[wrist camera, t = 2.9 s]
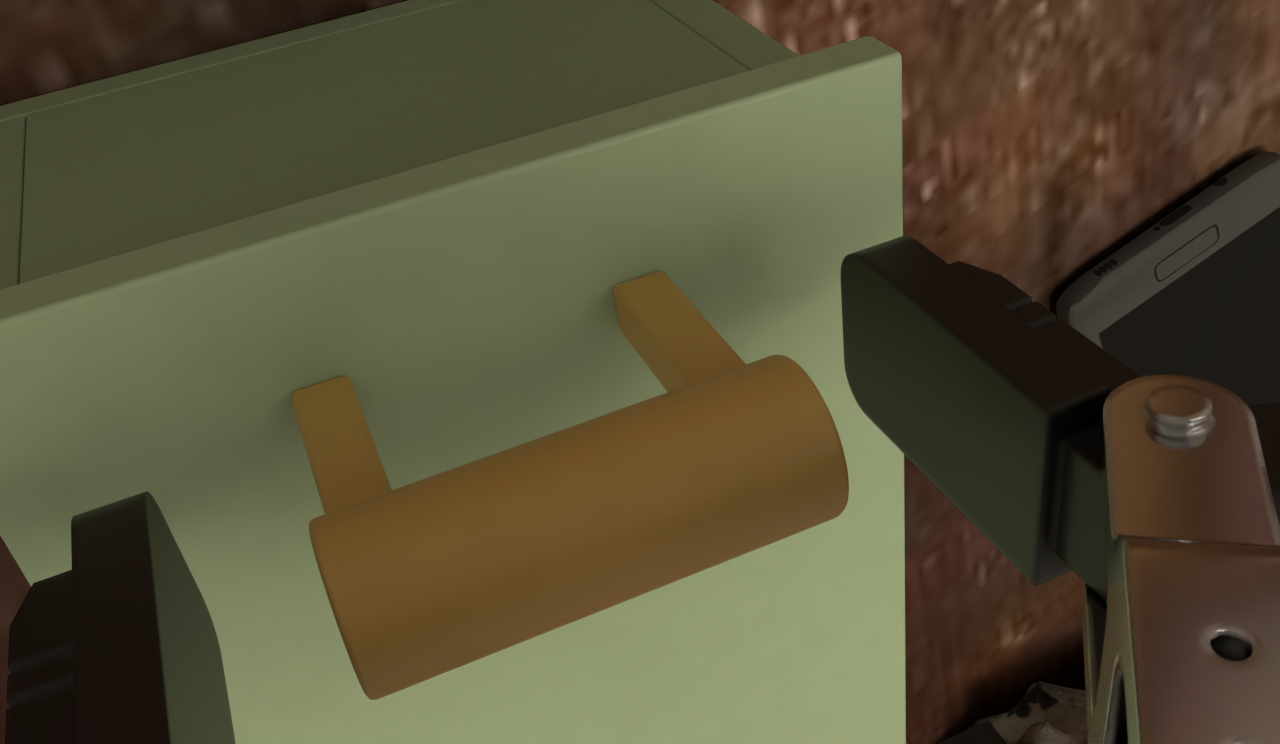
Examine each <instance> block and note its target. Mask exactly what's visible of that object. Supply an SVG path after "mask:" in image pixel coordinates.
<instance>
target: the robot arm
mask: <svg viewBox="0 0 1280 744" xmlns="http://www.w3.org/2000/svg"><path fill="white" fill-rule="evenodd" d="M840 278H841V301H842V323H843V346H844V365H845V372H846V376H847V380H848V383H849V386H850V389H851V391H852V394H853V396H854V398H855V400H856V402H857V403H858V405H859V407H860V408H861V409H862V411H863V412H864V413H865V414H866V416H867V417H868V418H869V419H870V420H871V421H872V422H873V423H874V424H875V425H876V426H877V427H878V428H879V429H880V430H881V431H882V432H883V433H884V434H885V435H886V436H887V437H888V438H889V439H890V440H891V441H892V442H893V443H894V444H895V445H896V446H897V447H898V448H899V449H900V450H901V451H902V452H903V453H904V454H905V455H906V456H907V457H908V458H909V459H910V460H911V461H912V462H913V463H914V464H915V465H916V466H917V467H918V468H919V469H920V470H921V471H922V472H923V473H924V474H925V476H926V477H927V478H928V479H929V480H930V481H931V482H932V483H933V484H934V485H935V486H936V487H937V488H938V489H939V490H940V491H941V492H942V493H943V494H944V495H945V496H946V497H947V498H948V499H949V500H950V501H951V502H952V503H953V504H954V505H955V506H956V507H957V508H958V509H959V510H960V511H961V512H962V513H963V514H964V515H965V516H966V517H967V518H968V519H969V520H970V521H971V522H972V523H973V524H974V525H975V526H976V527H977V528H978V529H979V530H980V531H981V532H982V533H983V534H984V535H985V536H986V537H987V538H988V539H989V540H990V541H991V542H992V544H993V545H994V546H995V547H996V548H997V549H998V550H999V551H1000V552H1001V553H1002V554H1003V555H1004V556H1005V557H1006V558H1007V559H1008V560H1009V561H1010V562H1011V563H1012V564H1013V565H1014V566H1015V567H1016V568H1017V569H1018V570H1019V571H1020V572H1021V573H1022V574H1023V575H1024V576H1025V577H1026V578H1027V579H1028V580H1029V581H1030V582H1031V583H1032V584H1033V585H1034V586H1037V585H1039V584H1041V583H1044V582H1046V581H1048V580H1051V579H1053V578H1055V577H1058V576H1060V575H1062V574H1065V573H1067V572H1069V571H1071V570H1073V571H1074V572H1075V573H1076V574H1077V575H1078V576H1079V577H1080V578H1081V579H1082V580H1083V581H1084V586H1083V595H1082V624H1083V646H1084V668H1085V690H1086V711H1087V736H1088V744H1280V402H1275V403H1267V404H1260V405H1251V406H1248V405H1247V404H1246V403H1245V402H1244V401H1243V400H1242V399H1241V398H1240V397H1238V396H1237V395H1235V394H1234V393H1233V392H1231V391H1229V390H1227V389H1226V388H1224V387H1222V386H1220V385H1217V384H1215V383H1212V382H1210V381H1206V380H1203V379H1199V378H1195V377H1189V376H1183V375H1152V376H1145V377H1141V376H1139V375H1138V374H1137V373H1135V372H1134V371H1132V370H1131V369H1130V368H1128V367H1127V366H1125V365H1124V364H1123V363H1121V362H1120V361H1119V360H1117V359H1116V358H1114V357H1113V356H1112V355H1110V354H1109V353H1108V352H1106V351H1105V350H1103V349H1102V348H1101V347H1099V346H1098V345H1096V344H1095V343H1094V342H1092V341H1091V340H1090V339H1088V338H1087V337H1085V336H1084V335H1083V334H1081V333H1080V332H1078V331H1077V330H1076V329H1074V328H1073V327H1072V326H1070V325H1069V324H1067V323H1066V322H1065V321H1063V320H1062V319H1061V320H1059V321H1058V320H1057V319H1056V316H1055V314H1054V313H1052V312H1051V311H1049V310H1048V309H1047V308H1045V307H1044V306H1043V305H1041V304H1040V303H1038V302H1034V303H1033V302H1032V300H1031V297H1030V296H1029V295H1027V294H1026V293H1025V292H1023V291H1022V290H1020V289H1019V288H1018V287H1016V286H1015V285H1014V284H1012V283H1011V282H1009V281H1008V280H1007V279H1005V278H1004V277H1003V276H1001V275H999V274H996V273H993V272H990V271H987V270H984V269H981V268H978V267H975V266H972V265H969V264H966V263H963V262H960V261H958V262H955V263H952V264H949V265H948V264H947V263H946V262H944V261H943V260H942V259H940V258H939V257H938V256H936V255H935V254H934V253H932V252H931V251H930V250H928V249H927V248H926V247H924V246H923V245H922V244H920V243H919V242H918V241H917V240H915V239H913V238H912V237H909V236H901V237H898V238H895V239H892V240H889V241H886V242H883V243H881V244H878V245H875V246H872V247H869V248H866V249H863V250H860V251H857V252H854V253H851V254H848V255H847V256H845V258H844V259H843V261H842V265H841V273H840ZM71 554H72V570H69V571H67V572H64V573H61V574H58V575H55V576H52V577H49V578H47V579H44V580H41V581H38V582H35V583H33V585H32V587H31V588H30V590H29V592H28V594H27V596H26V598H25V599H24V601H23V603H22V605H21V607H20V609H19V610H18V612H17V614H16V616H15V618H14V620H13V621H12V623H11V625H10V632H9V657H8V668H9V670H10V675H8V682H7V702H8V704H9V708H8V709H6V733H5V744H236V743H235V736H234V730H233V724H232V718H231V711H230V705H229V699H228V693H227V686H226V680H225V674H224V668H223V661H222V655H221V650H220V646H219V642H218V638H217V634H216V631H215V628H214V625H213V622H212V619H211V616H210V613H209V611H208V608H207V606H206V603H205V601H204V598H203V596H202V594H201V592H200V590H199V588H198V586H197V584H196V582H195V580H194V578H193V576H192V574H191V572H190V570H189V567H188V565H187V563H186V561H185V559H184V557H183V555H182V553H181V551H180V549H179V547H178V545H177V543H176V541H175V539H174V537H173V535H172V533H171V531H170V529H169V526H168V524H167V522H166V520H165V518H164V516H163V514H162V512H161V510H160V508H159V506H158V504H157V502H156V501H155V499H154V497H153V496H152V495H151V494H150V493H149V492H148V491H146V492H143V493H140V494H137V495H134V496H131V497H128V498H125V499H122V500H119V501H116V502H113V503H110V504H107V505H105V506H102V507H99V508H96V509H93V510H90V511H87V512H84V513H81V514H78V515H75V516H73V517H72V520H71ZM937 744H1007V743H1006V741H1005V740H1004V739H1003V738H1002V737H1001V735H1000V734H999V733H998V732H997V730H996V729H995V728H994V727H993V726H992V724H991V723H990V722H989V721H985V722H983V723H981V724H979V725H977V726H974V727H972V728H970V729H968V730H966V731H964V732H961V733H959V734H957V735H955V736H953V737H950V738H948V739H946V740H944V741H942V742H939V743H937Z"/></svg>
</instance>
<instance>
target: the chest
mask: <svg viewBox="0 0 1280 744" xmlns="http://www.w3.org/2000/svg"><path fill="white" fill-rule="evenodd" d="M797 56H799V55H798V54H796V53H794V52H793V51H791V50H790V49H788V48H786V47H785V46H783V45H782V44H780V43H779V42H777V41H775V40H774V39H772V38H771V37H769V36H768V35H766V34H764V33H763V32H761V31H760V30H758V29H756V28H755V27H753V26H752V25H750V24H749V23H747V22H745V21H744V20H742V19H741V18H739V17H738V16H736V15H734V14H733V13H731V12H730V11H728V10H727V9H725V8H723V7H722V6H720V5H719V4H717V3H715V2H714V1H712V0H408V1H404V2H400V3H396V4H392V5H389V6H385V7H381V8H377V9H373V10H369V11H365V12H361V13H358V14H354V15H350V16H346V17H342V18H338V19H334V20H331V21H327V22H323V23H319V24H315V25H311V26H307V27H303V28H300V29H296V30H292V31H288V32H284V33H280V34H276V35H272V36H269V37H265V38H261V39H257V40H253V41H249V42H245V43H242V44H238V45H234V46H230V47H226V48H222V49H218V50H214V51H211V52H207V53H203V54H199V55H195V56H191V57H187V58H184V59H180V60H176V61H172V62H168V63H164V64H160V65H156V66H153V67H149V68H145V69H141V70H137V71H133V72H129V73H126V74H122V75H118V76H114V77H110V78H106V79H102V80H98V81H95V82H91V83H87V84H83V85H79V86H75V87H71V88H67V89H64V90H60V91H56V92H52V93H48V94H44V95H40V96H37V97H33V98H29V99H25V100H21V101H17V102H13V103H9V104H6V105H2V106H0V290H1V289H5V288H8V287H11V286H15V285H18V284H22V283H25V282H28V281H32V280H35V279H39V278H42V277H46V276H49V275H52V274H56V273H59V272H63V271H66V270H69V269H73V268H76V267H80V266H83V265H87V264H90V263H93V262H97V261H100V260H104V259H107V258H110V257H114V256H117V255H121V254H124V253H128V252H131V251H134V250H138V249H141V248H145V247H148V246H151V245H155V244H158V243H162V242H165V241H169V240H172V239H175V238H179V237H182V236H186V235H189V234H193V233H196V232H199V231H203V230H206V229H210V228H213V227H216V226H220V225H223V224H227V223H230V222H234V221H237V220H240V219H244V218H247V217H251V216H254V215H257V214H261V213H264V212H268V211H271V210H275V209H278V208H281V207H285V206H288V205H292V204H295V203H298V202H302V201H305V200H309V199H312V198H316V197H319V196H322V195H326V194H329V193H333V192H336V191H339V190H343V189H346V188H350V187H353V186H357V185H360V184H363V183H367V182H370V181H374V180H377V179H380V178H384V177H387V176H391V175H394V174H398V173H401V172H404V171H408V170H411V169H415V168H418V167H421V166H425V165H428V164H432V163H435V162H439V161H442V160H445V159H449V158H452V157H456V156H459V155H462V154H466V153H469V152H473V151H476V150H480V149H483V148H486V147H490V146H493V145H497V144H500V143H504V142H507V141H510V140H514V139H517V138H521V137H524V136H527V135H531V134H534V133H538V132H541V131H545V130H548V129H551V128H555V127H558V126H562V125H565V124H568V123H572V122H575V121H579V120H582V119H586V118H589V117H592V116H596V115H599V114H603V113H606V112H609V111H613V110H616V109H620V108H623V107H627V106H630V105H633V104H637V103H640V102H644V101H647V100H650V99H654V98H657V97H661V96H664V95H668V94H671V93H674V92H678V91H681V90H685V89H688V88H691V87H695V86H698V85H702V84H705V83H709V82H712V81H715V80H719V79H722V78H726V77H729V76H732V75H736V74H739V73H743V72H746V71H750V70H753V69H756V68H760V67H763V66H767V65H770V64H774V63H777V62H780V61H784V60H787V59H791V58H794V57H797Z"/></svg>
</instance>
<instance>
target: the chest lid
mask: <svg viewBox="0 0 1280 744" xmlns="http://www.w3.org/2000/svg"><path fill="white" fill-rule="evenodd" d="M901 236H903V213H902V58H901V55H900V53H899V52H898V51H896V50H894V49H892V48H891V47H889V46H887V45H885V44H883V43H882V42H880V41H878V40H876V39H874V38H873V37H870V36H866V37H862V38H859V39H856V40H852V41H849V42H845V43H842V44H838V45H835V46H832V47H828V48H825V49H821V50H818V51H815V52H811V53H808V54H804V55H801V56H797V57H794V58H791V59H787V60H784V61H780V62H777V63H774V64H770V65H767V66H763V67H760V68H756V69H753V70H750V71H746V72H743V73H739V74H736V75H732V76H729V77H726V78H722V79H719V80H715V81H712V82H709V83H705V84H702V85H698V86H695V87H691V88H688V89H685V90H681V91H678V92H674V93H671V94H668V95H664V96H661V97H657V98H654V99H650V100H647V101H644V102H640V103H637V104H633V105H630V106H627V107H623V108H620V109H616V110H613V111H609V112H606V113H603V114H599V115H596V116H592V117H589V118H586V119H582V120H579V121H575V122H572V123H568V124H565V125H562V126H558V127H555V128H551V129H548V130H545V131H541V132H538V133H534V134H531V135H527V136H524V137H521V138H517V139H514V140H510V141H507V142H504V143H500V144H497V145H493V146H490V147H486V148H483V149H480V150H476V151H473V152H469V153H466V154H462V155H459V156H456V157H452V158H449V159H445V160H442V161H439V162H435V163H432V164H428V165H425V166H421V167H418V168H415V169H411V170H408V171H404V172H401V173H398V174H394V175H391V176H387V177H384V178H380V179H377V180H374V181H370V182H367V183H363V184H360V185H357V186H353V187H350V188H346V189H343V190H339V191H336V192H333V193H329V194H326V195H322V196H319V197H316V198H312V199H309V200H305V201H302V202H298V203H295V204H292V205H288V206H285V207H281V208H278V209H275V210H271V211H268V212H264V213H261V214H257V215H254V216H251V217H247V218H244V219H240V220H237V221H234V222H230V223H227V224H223V225H220V226H216V227H213V228H210V229H206V230H203V231H199V232H196V233H193V234H189V235H186V236H182V237H179V238H175V239H172V240H169V241H165V242H162V243H158V244H155V245H151V246H148V247H145V248H141V249H138V250H134V251H131V252H128V253H124V254H121V255H117V256H114V257H110V258H107V259H104V260H100V261H97V262H93V263H90V264H87V265H83V266H80V267H76V268H73V269H69V270H66V271H63V272H59V273H56V274H52V275H49V276H46V277H42V278H39V279H35V280H32V281H28V282H25V283H22V284H18V285H15V286H11V287H8V288H5V289H1V290H0V536H1V537H2V539H3V541H4V542H5V544H6V546H7V547H8V549H9V551H10V552H11V554H12V556H13V557H14V559H15V561H16V562H17V564H18V566H19V567H20V569H21V571H22V572H23V574H24V576H25V577H26V579H27V581H28V582H29V584H30V586H31V587H32V585H33V583H35V582H38V581H41V580H44V579H47V578H49V577H52V576H55V575H58V574H61V573H64V572H67V571H69V570H72V554H71V520H72V517H73V516H75V515H78V514H81V513H84V512H87V511H90V510H93V509H96V508H99V507H102V506H105V505H107V504H110V503H113V502H116V501H119V500H122V499H125V498H128V497H131V496H134V495H137V494H140V493H143V492H146V491H148V492H149V493H150V494H151V495H152V496H153V497H154V499H155V501H156V502H157V504H158V506H159V508H160V510H161V512H162V514H163V516H164V518H165V520H166V522H167V524H168V526H169V529H170V531H171V533H172V535H173V537H174V539H175V541H176V543H177V545H178V547H179V549H180V551H181V553H182V555H183V557H184V559H185V561H186V563H187V565H188V567H189V570H190V572H191V574H192V576H193V578H194V580H195V582H196V584H197V586H198V588H199V590H200V592H201V594H202V596H203V598H204V601H205V603H206V606H207V608H208V611H209V613H210V616H211V619H212V622H213V625H214V628H215V631H216V634H217V638H218V642H219V646H220V650H221V655H222V661H223V668H224V674H225V680H226V686H227V693H228V699H229V705H230V711H231V718H232V724H233V730H234V736H235V743H236V744H905V743H906V698H905V536H904V453H903V452H902V451H901V450H900V449H899V448H898V447H897V446H896V445H895V444H894V443H893V442H892V441H891V440H890V439H889V438H888V437H887V436H886V435H885V434H884V433H883V432H882V431H881V430H880V429H879V428H878V427H877V426H876V425H875V424H874V423H873V422H872V421H871V420H870V419H869V418H868V417H867V416H866V414H865V413H864V412H863V411H862V409H861V408H860V407H859V405H858V403H857V402H856V400H855V398H854V396H853V394H852V391H851V389H850V386H849V383H848V380H847V376H846V372H845V365H844V346H843V323H842V301H841V278H840V273H841V265H842V261H843V259H844V258H845V256H847V255H848V254H851V253H854V252H857V251H860V250H863V249H866V248H869V247H872V246H875V245H878V244H881V243H883V242H886V241H889V240H892V239H895V238H898V237H901Z"/></svg>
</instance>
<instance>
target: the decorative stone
mask: <svg viewBox="0 0 1280 744" xmlns="http://www.w3.org/2000/svg"><path fill="white" fill-rule="evenodd" d="M985 721H989V722H990V723H991V724H992V726H993V727H994V728H995V729H996V730H997V732H998V733H999V734H1000V735H1001V737H1002V738H1003V739H1004V740H1005V741H1006V743H1007V744H1088V736H1087V711H1086V691H1085V690H1079V689H1074V688H1068V687H1063V686H1058V685H1054V684H1049V683H1045V682H1041V681H1038V682H1034V683H1033V684H1032V685H1031V686H1030V687H1029V688H1028V689H1027V692H1026V695H1025V696H1024V697H1023V698H1022V699H1021V701H1020V702H1019V703H1018V704H1017V706H1015V707H1014V708H1013V709H1011V710H1010V711H1008V712H1006V713H1003V714H999V715H994V716H990V717H986V718H983V719H980V720H977V721H976V722H975V723H974V724H972V725H971V726H969V727H968V728H967V729H966V730H968V729H970V728H972V727H974V726H977V725H979V724H981V723H983V722H985Z"/></svg>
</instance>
